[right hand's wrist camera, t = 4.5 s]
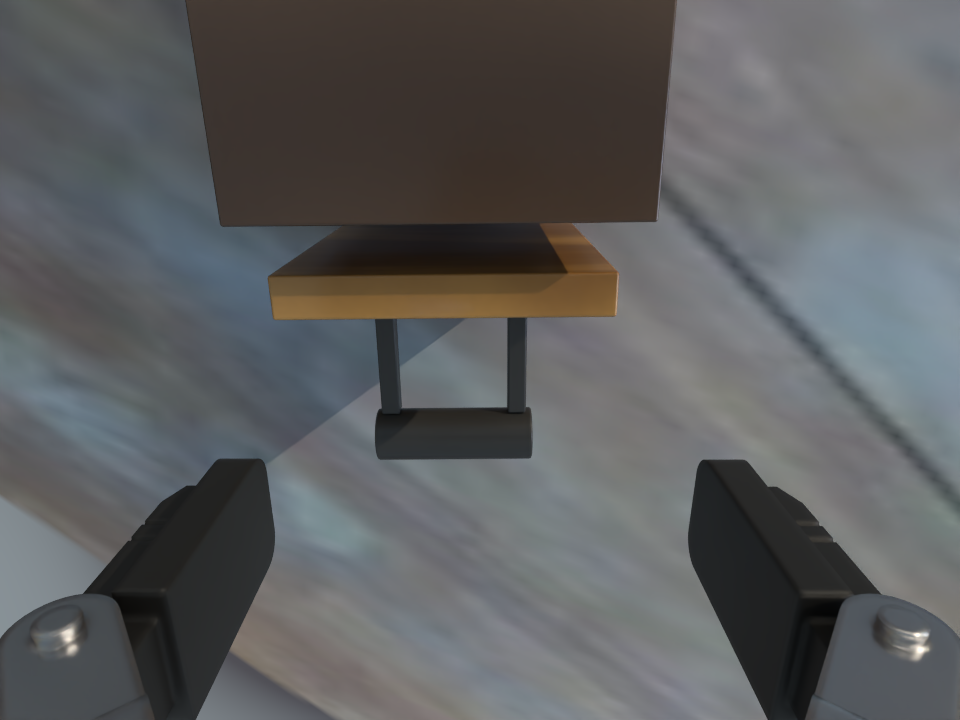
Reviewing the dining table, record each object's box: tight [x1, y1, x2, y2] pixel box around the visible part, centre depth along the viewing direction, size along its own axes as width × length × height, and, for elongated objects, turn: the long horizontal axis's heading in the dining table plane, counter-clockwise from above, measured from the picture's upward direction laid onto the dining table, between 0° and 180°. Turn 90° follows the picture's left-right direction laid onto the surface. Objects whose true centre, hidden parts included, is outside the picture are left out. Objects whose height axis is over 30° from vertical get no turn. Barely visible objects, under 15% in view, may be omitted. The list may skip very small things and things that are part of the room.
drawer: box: [268, 223, 619, 460], centre depth 18 cm, size 26×9×10 cm, turn 1°
